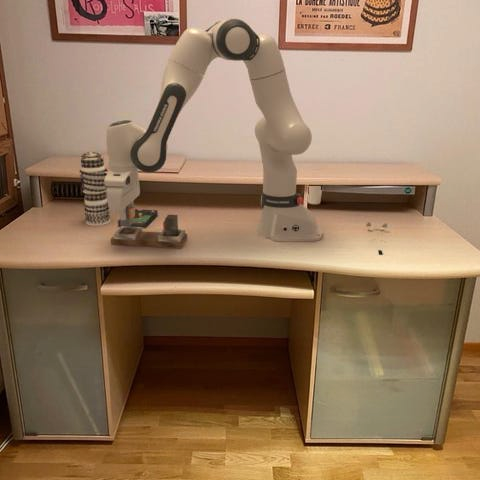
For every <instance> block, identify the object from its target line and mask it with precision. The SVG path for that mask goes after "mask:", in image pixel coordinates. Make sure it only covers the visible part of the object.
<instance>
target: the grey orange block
mask: <svg viewBox="0 0 480 480" xmlns="http://www.w3.org/2000/svg"><path fill="white" fill-rule="evenodd" d="M135 209H136V207H135V206H134V204H133V205H132V202H131V203H130V204H129V205H128V206H126V210H125V211H126V214H127V219H126V220H121V219H120V218H119V220H120V226H131V224H132V223H133V222H134V221H133V217H134V216H135Z"/></svg>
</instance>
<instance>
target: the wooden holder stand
mask: <svg viewBox="0 0 480 480" xmlns="http://www.w3.org/2000/svg"><path fill="white" fill-rule="evenodd" d="M178 217H179V216H178V214H167V216H166V217H164V219H165V220H164V221H163V222H162V225H163V229H162V231H161V232H159V231H143V228H142V227H127V226H121V227H118V229H117V230H116V231H115V232H114V233H113V235H112V236H111V238H110V245H111V246H112V245H113V246H128V245H135V246H134V247H147V246H148V247H149V248H150V247H152V248H166V247H168V248H169V247H170V248H172V249H183V247H184V246H185V244H186V242H187V240H188V233H186V229H183V228H179V219H178ZM183 245H184V246H183ZM168 248H167V249H168Z"/></svg>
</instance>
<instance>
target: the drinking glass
mask: <svg viewBox="0 0 480 480" xmlns="http://www.w3.org/2000/svg"><path fill="white" fill-rule="evenodd" d="M310 167H322V168H324V169H325V167H324V166H320V165H311V166H308V168H307V170H308V169H311V168H310ZM311 170H323V169H311ZM325 170H326V169H325ZM322 193H323V189H322V190H321V186H309V194H308V193H307V203H308V204H309V205H313V206H314V205H320V204H321V201H322V199H321V198H322Z"/></svg>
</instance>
